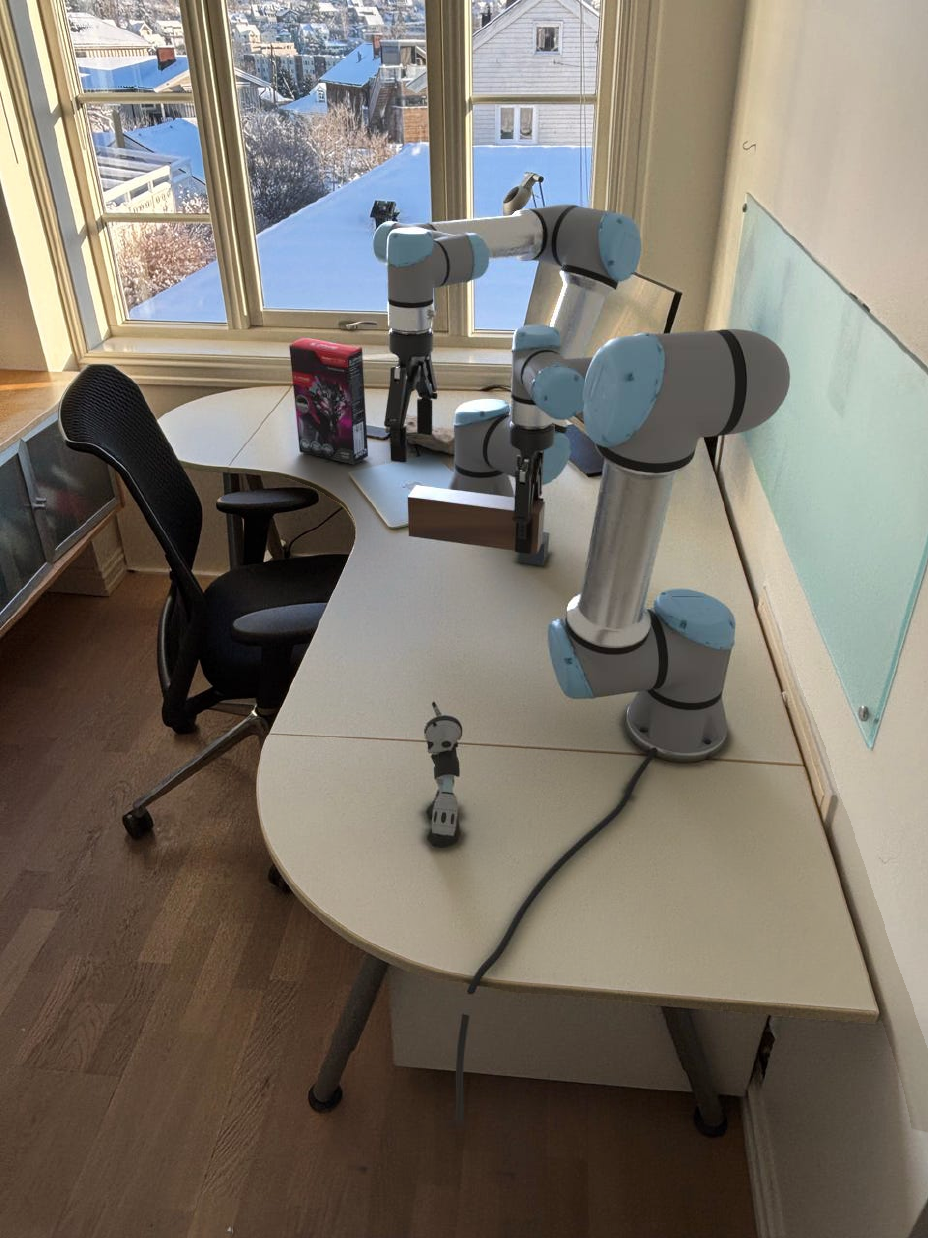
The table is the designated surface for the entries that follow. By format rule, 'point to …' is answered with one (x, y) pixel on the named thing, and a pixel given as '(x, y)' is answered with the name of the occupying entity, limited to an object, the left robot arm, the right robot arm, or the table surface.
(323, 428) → the graphics card box
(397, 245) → the left robot arm
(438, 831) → the robot
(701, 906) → the table surface
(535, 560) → the slate grey block
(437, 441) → the stone
